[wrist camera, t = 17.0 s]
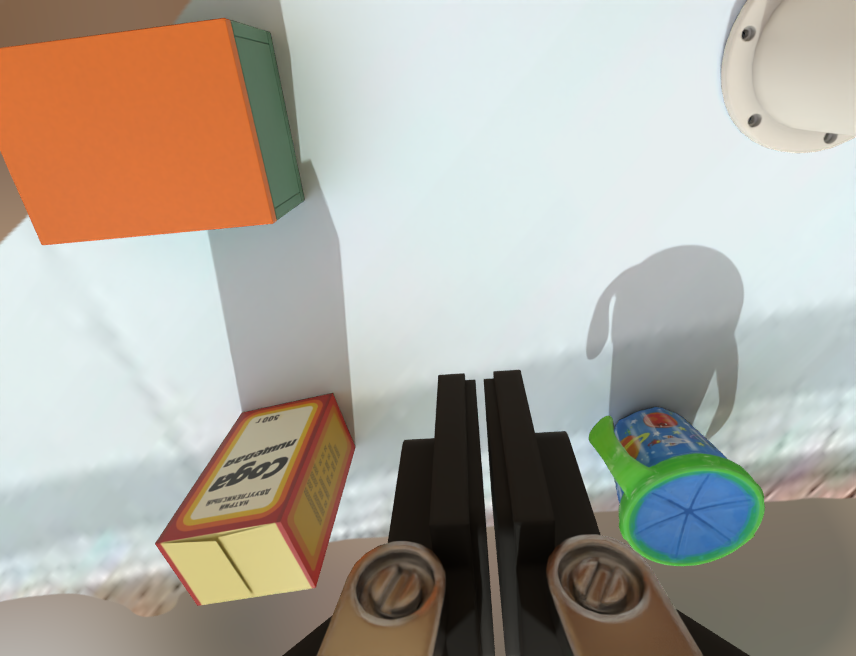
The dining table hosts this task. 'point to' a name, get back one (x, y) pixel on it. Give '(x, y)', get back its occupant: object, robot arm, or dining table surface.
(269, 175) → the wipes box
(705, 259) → the dining table surface
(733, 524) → the snack cup
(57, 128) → the lid
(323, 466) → the baking soda box
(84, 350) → the dining table surface
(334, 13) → the dining table surface
